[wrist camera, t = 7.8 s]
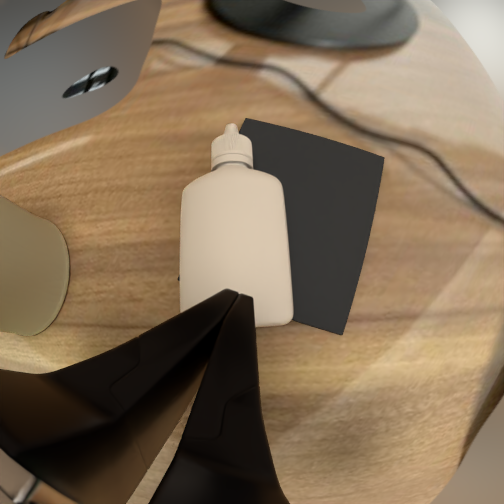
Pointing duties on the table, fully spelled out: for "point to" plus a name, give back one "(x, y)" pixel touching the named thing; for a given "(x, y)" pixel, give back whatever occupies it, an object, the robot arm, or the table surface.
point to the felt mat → (320, 215)
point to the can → (30, 270)
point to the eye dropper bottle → (236, 233)
